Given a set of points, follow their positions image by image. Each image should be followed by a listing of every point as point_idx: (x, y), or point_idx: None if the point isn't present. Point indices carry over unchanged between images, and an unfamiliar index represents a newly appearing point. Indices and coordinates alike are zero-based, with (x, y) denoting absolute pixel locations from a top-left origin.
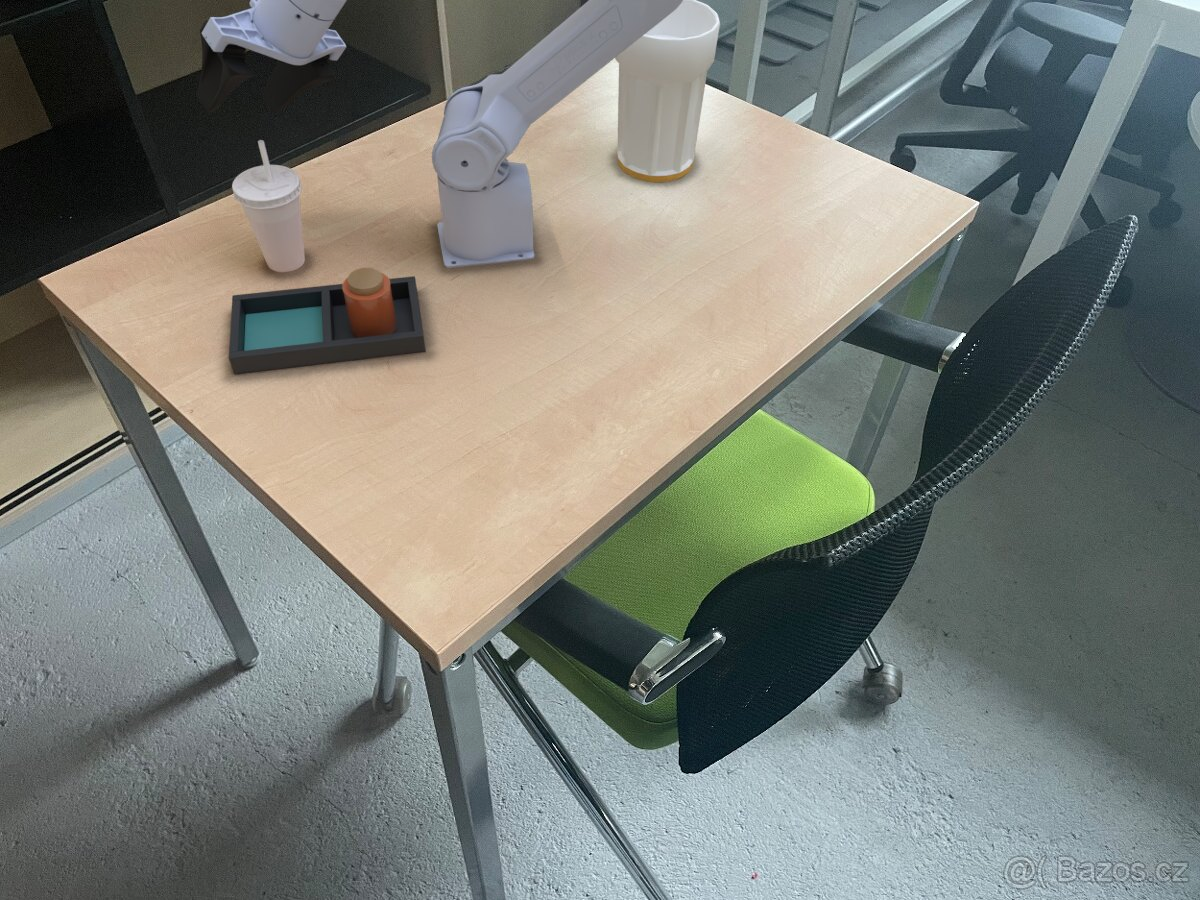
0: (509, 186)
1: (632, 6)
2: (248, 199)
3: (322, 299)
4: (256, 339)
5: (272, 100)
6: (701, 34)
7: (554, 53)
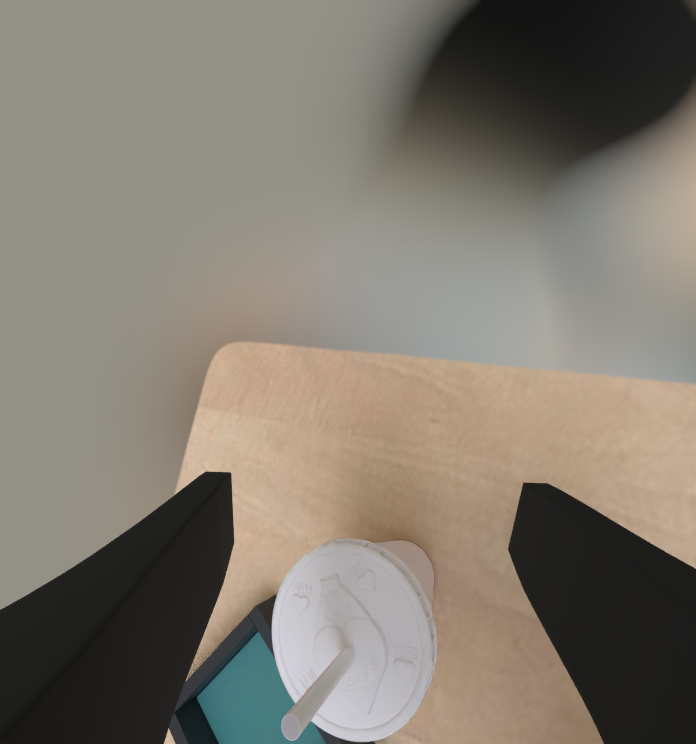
0: None
1: None
2: (274, 646)
3: None
4: (239, 677)
5: (530, 548)
6: None
7: None
